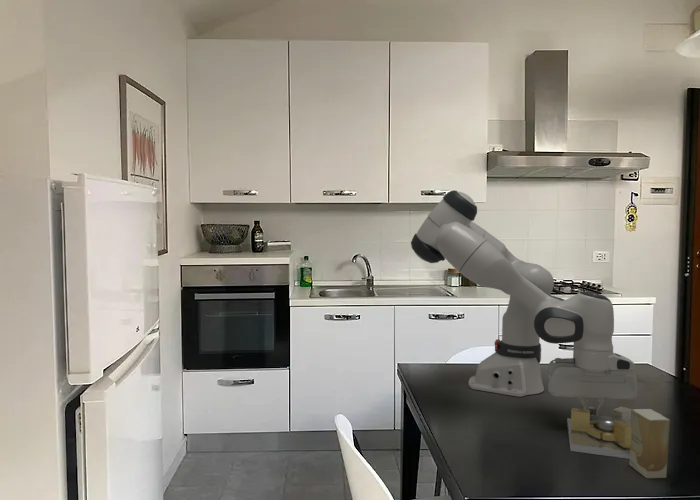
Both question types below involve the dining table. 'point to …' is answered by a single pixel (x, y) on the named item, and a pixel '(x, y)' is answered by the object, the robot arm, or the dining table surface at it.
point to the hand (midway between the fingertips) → (590, 414)
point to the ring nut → (619, 435)
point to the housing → (597, 440)
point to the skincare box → (649, 443)
